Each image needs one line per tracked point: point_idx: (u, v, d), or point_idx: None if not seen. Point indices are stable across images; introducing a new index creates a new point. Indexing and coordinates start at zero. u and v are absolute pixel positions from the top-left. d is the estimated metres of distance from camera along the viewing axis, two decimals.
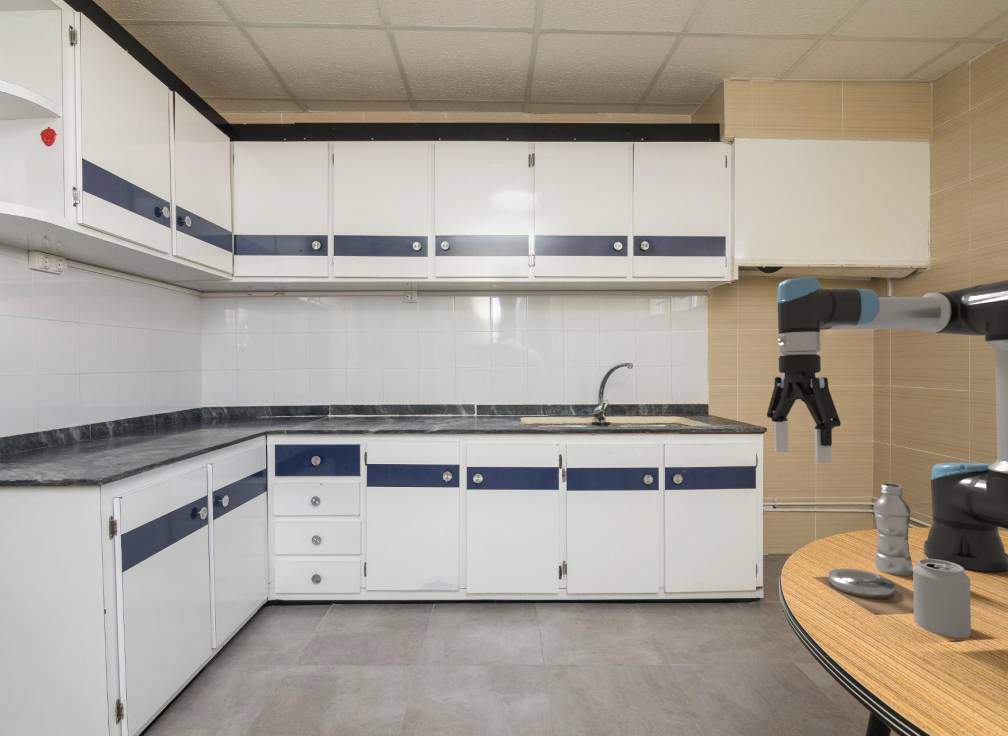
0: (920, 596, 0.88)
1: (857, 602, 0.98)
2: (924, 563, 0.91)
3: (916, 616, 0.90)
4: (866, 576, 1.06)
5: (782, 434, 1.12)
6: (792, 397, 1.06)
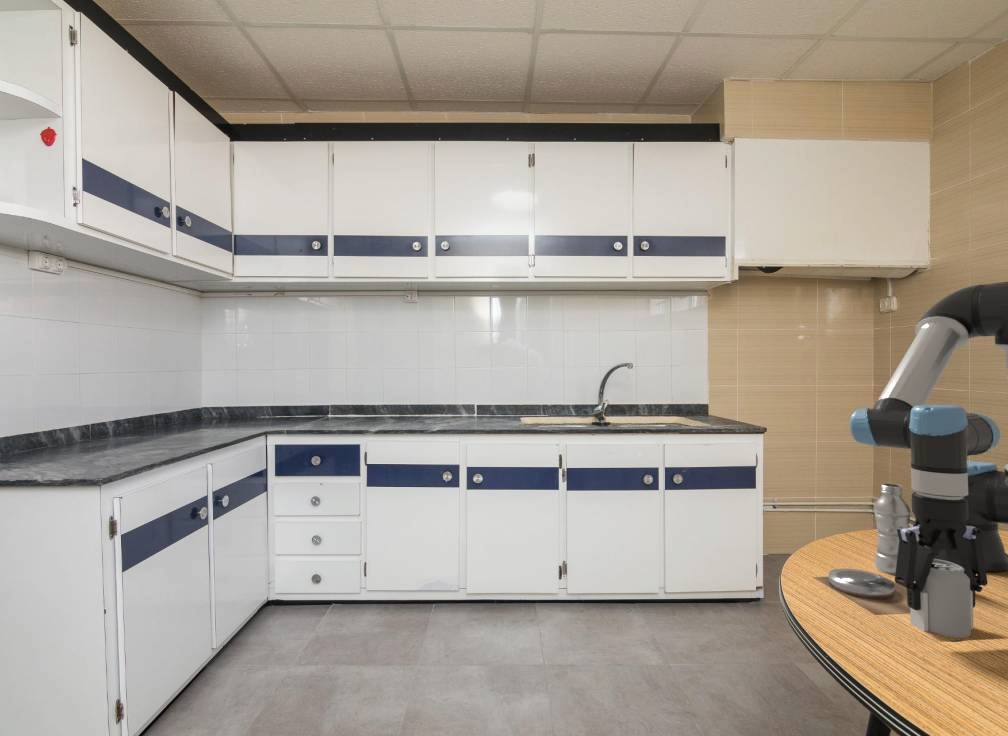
0: None
1: (857, 602, 0.98)
2: None
3: None
4: (866, 576, 1.06)
5: None
6: None
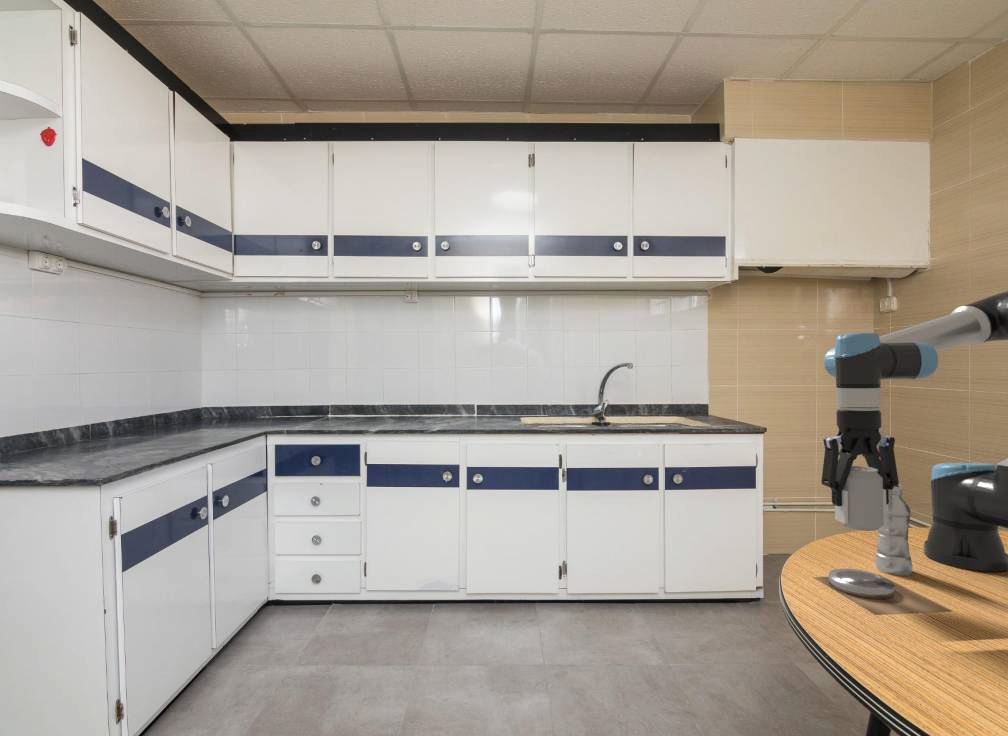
0: None
1: (857, 602, 0.98)
2: None
3: None
4: (866, 576, 1.06)
5: None
6: None
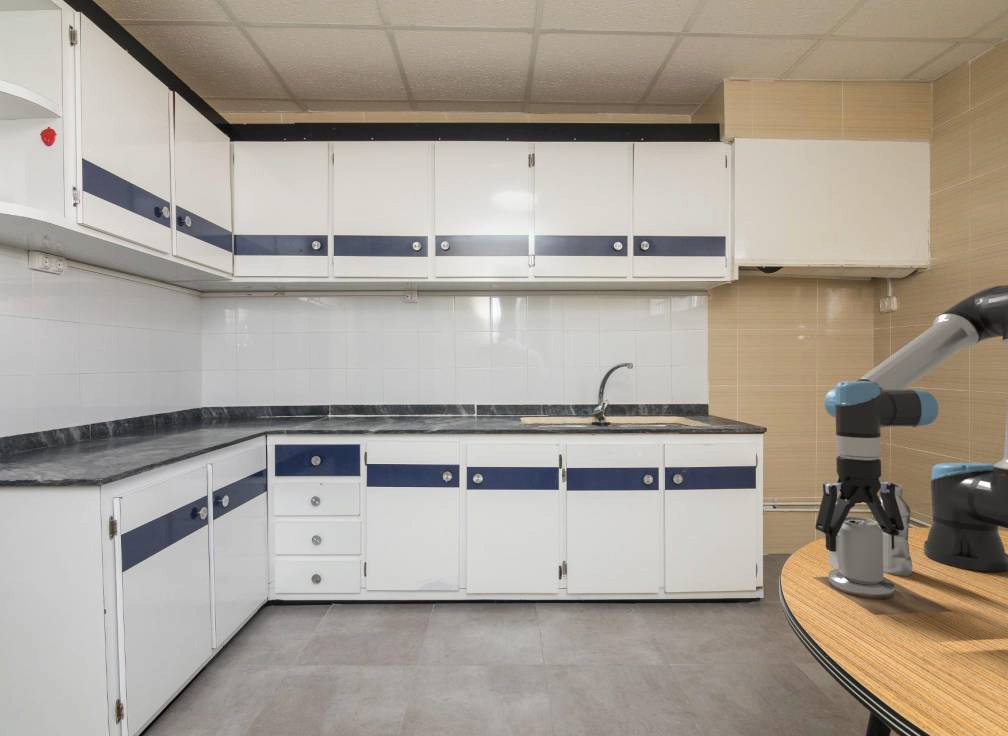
0: (842, 547, 1.04)
1: (857, 602, 0.98)
2: (847, 520, 1.07)
3: None
4: None
5: (883, 546, 1.05)
6: None
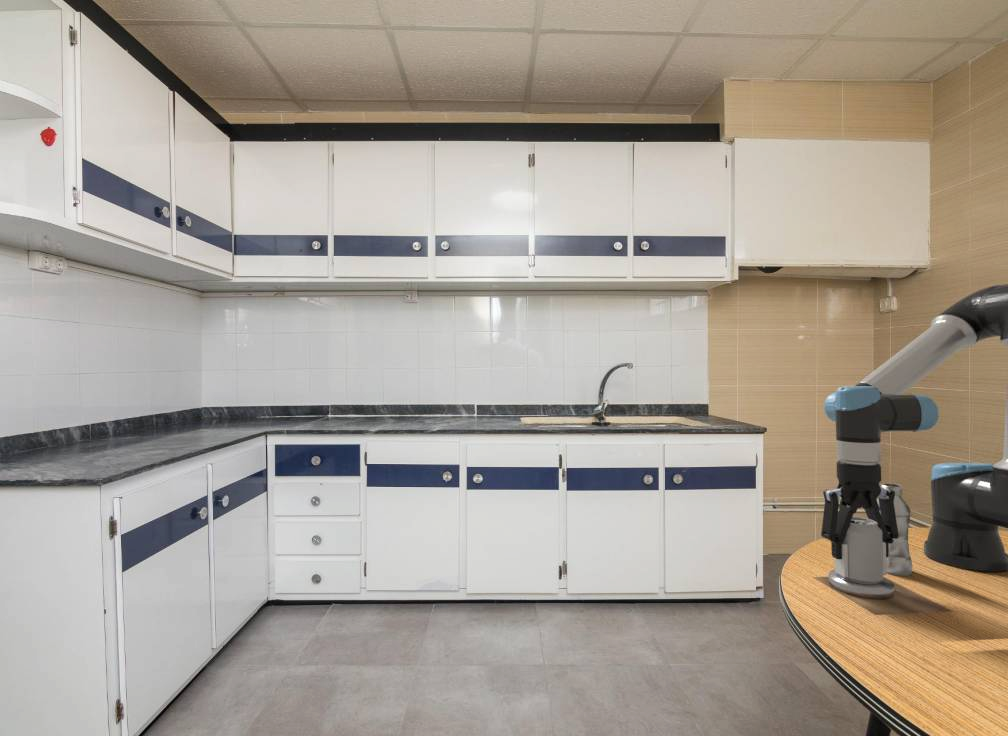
0: None
1: (857, 602, 0.98)
2: None
3: None
4: None
5: None
6: None
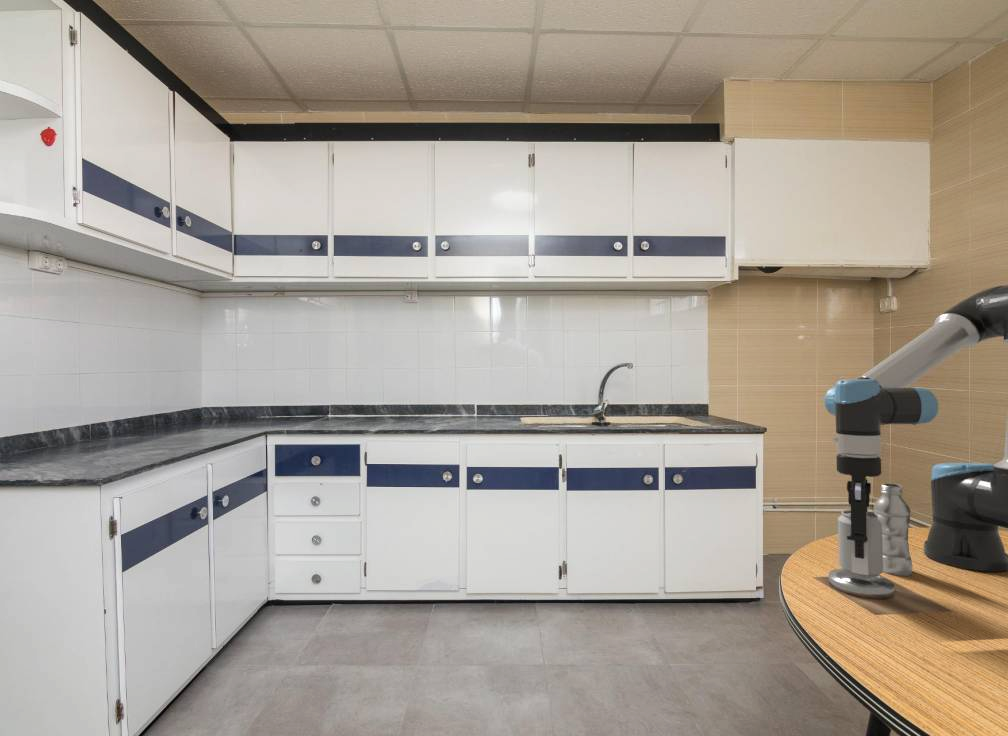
0: None
1: (857, 602, 0.98)
2: None
3: None
4: None
5: None
6: None
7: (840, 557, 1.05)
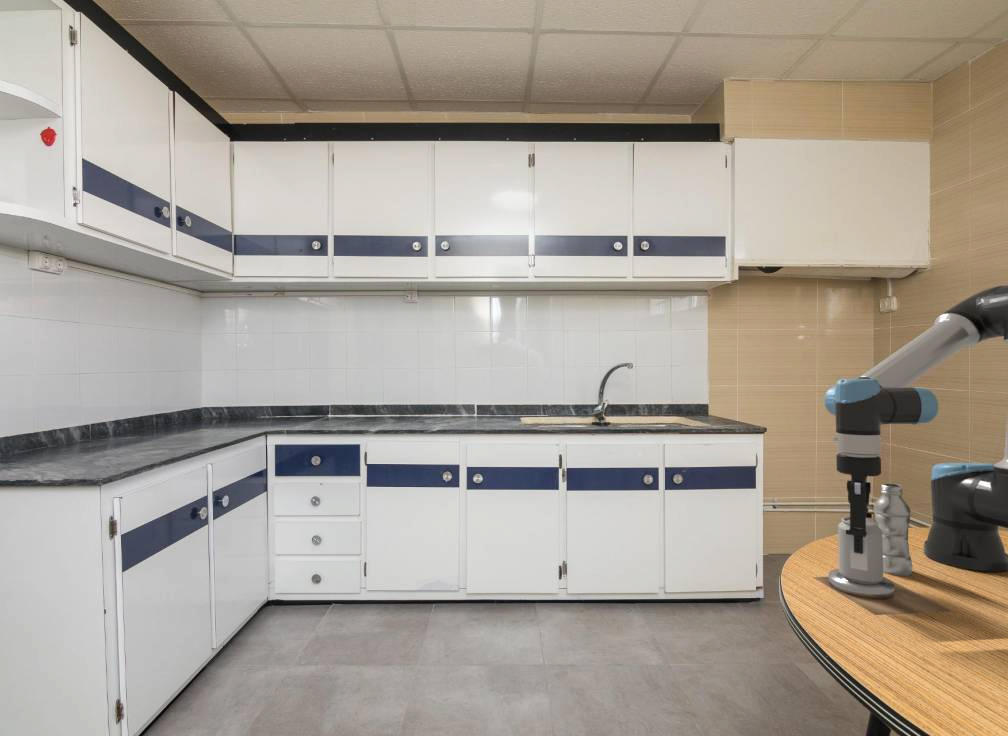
0: None
1: (857, 602, 0.98)
2: None
3: (852, 570, 1.02)
4: None
5: None
6: None
7: (840, 564, 1.05)
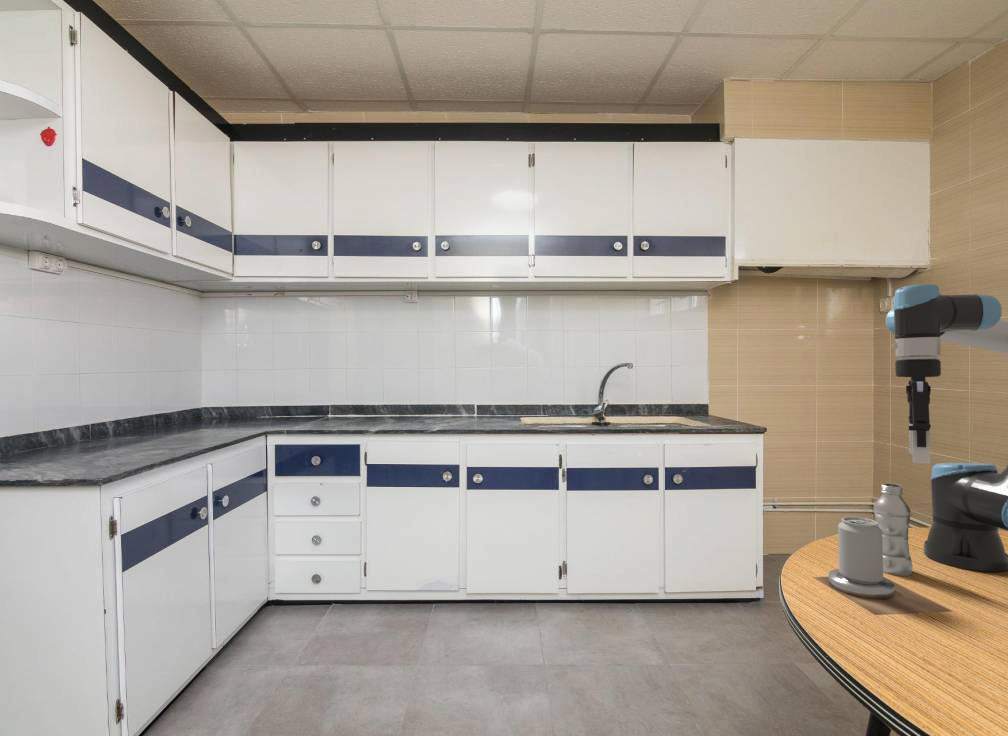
0: (858, 551, 1.02)
1: (857, 602, 0.98)
2: None
3: (852, 570, 1.02)
4: None
5: None
6: None
7: (840, 564, 1.05)
